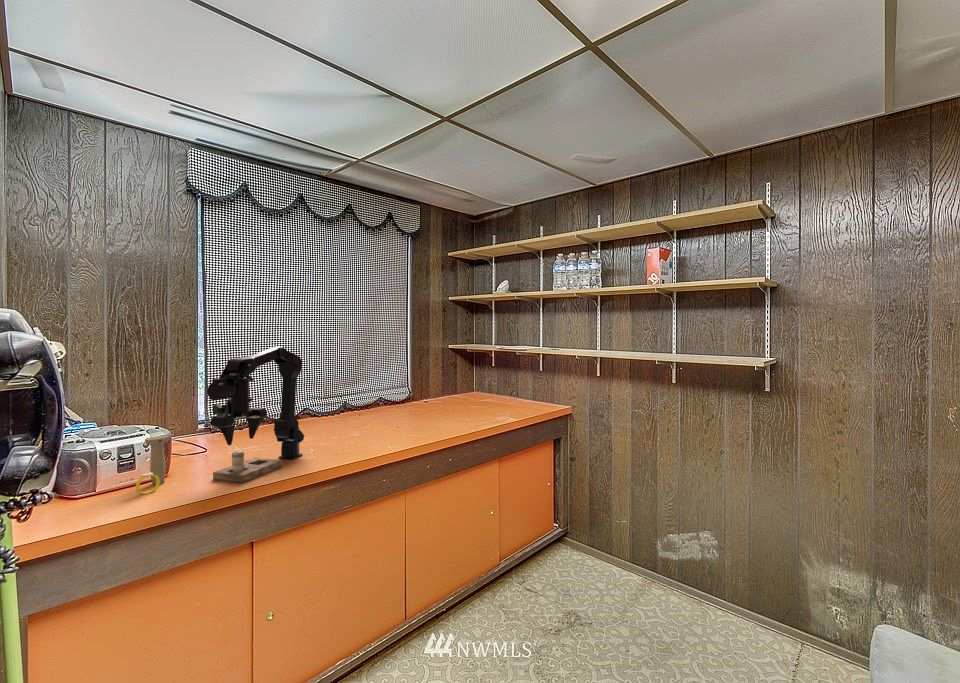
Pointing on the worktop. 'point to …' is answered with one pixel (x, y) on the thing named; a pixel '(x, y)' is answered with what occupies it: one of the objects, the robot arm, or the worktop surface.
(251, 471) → the bore block
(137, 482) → the yellow round part
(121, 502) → the worktop surface
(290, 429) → the robot arm
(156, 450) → the handle
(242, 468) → the pin
